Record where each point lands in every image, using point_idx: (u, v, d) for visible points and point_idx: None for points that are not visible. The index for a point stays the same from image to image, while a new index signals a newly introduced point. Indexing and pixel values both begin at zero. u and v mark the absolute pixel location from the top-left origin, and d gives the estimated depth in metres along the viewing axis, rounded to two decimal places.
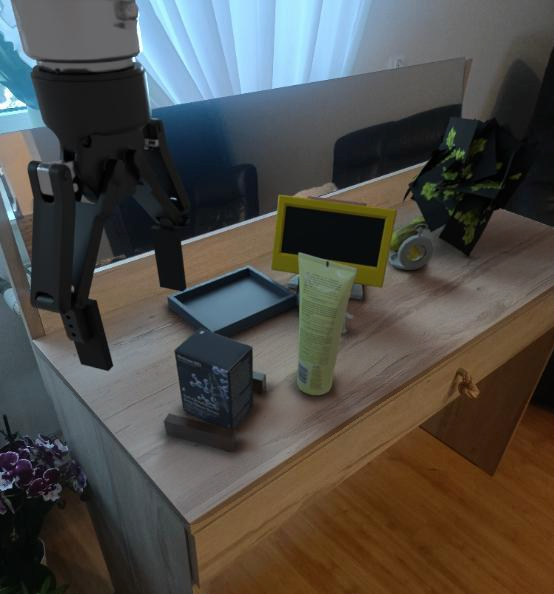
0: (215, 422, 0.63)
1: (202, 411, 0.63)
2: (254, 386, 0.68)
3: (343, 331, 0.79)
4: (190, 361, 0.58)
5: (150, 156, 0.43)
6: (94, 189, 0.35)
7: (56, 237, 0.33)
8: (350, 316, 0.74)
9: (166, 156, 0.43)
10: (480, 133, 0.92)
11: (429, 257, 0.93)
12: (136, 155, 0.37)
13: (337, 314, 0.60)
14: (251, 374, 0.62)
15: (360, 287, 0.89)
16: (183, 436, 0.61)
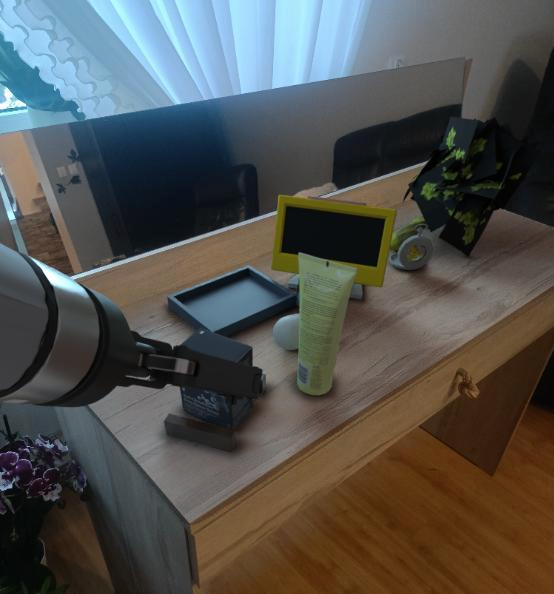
0: (215, 422, 0.63)
1: (202, 411, 0.63)
2: None
3: None
4: None
5: None
6: None
7: None
8: None
9: None
10: (480, 133, 0.92)
11: (429, 257, 0.93)
12: None
13: (337, 314, 0.60)
14: None
15: (360, 287, 0.89)
16: (183, 436, 0.61)
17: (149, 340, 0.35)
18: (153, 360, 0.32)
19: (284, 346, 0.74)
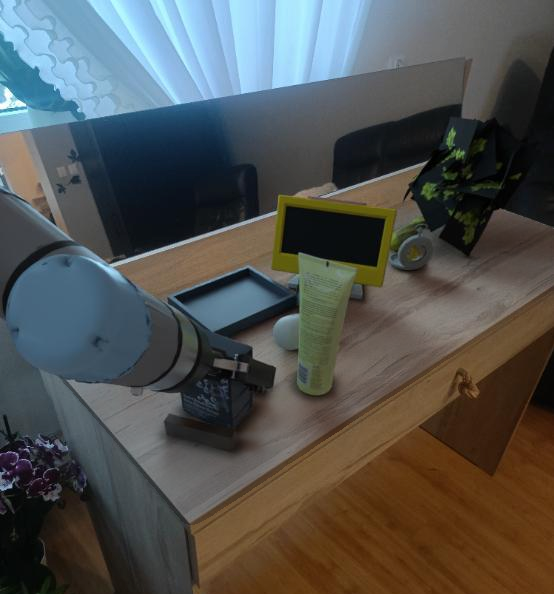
0: (215, 422, 0.63)
1: (202, 411, 0.63)
2: None
3: None
4: None
5: None
6: None
7: None
8: None
9: (245, 381, 0.51)
10: (480, 133, 0.92)
11: (429, 257, 0.93)
12: None
13: (337, 314, 0.60)
14: None
15: (360, 287, 0.89)
16: (183, 436, 0.61)
17: (215, 348, 0.51)
18: (224, 363, 0.48)
19: (284, 346, 0.74)
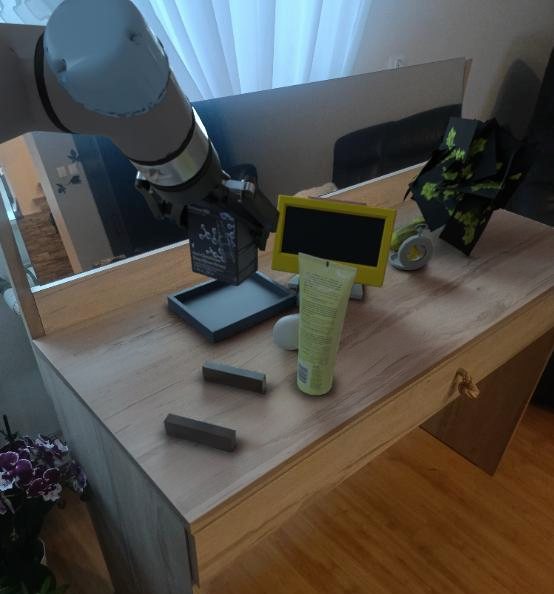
0: (222, 278, 0.67)
1: (210, 267, 0.67)
2: (254, 386, 0.68)
3: None
4: (200, 210, 0.63)
5: None
6: None
7: None
8: None
9: (250, 209, 0.55)
10: (480, 133, 0.92)
11: (429, 257, 0.93)
12: (199, 200, 0.54)
13: (337, 314, 0.60)
14: None
15: (360, 287, 0.89)
16: (183, 436, 0.61)
17: None
18: (232, 183, 0.53)
19: (284, 346, 0.74)
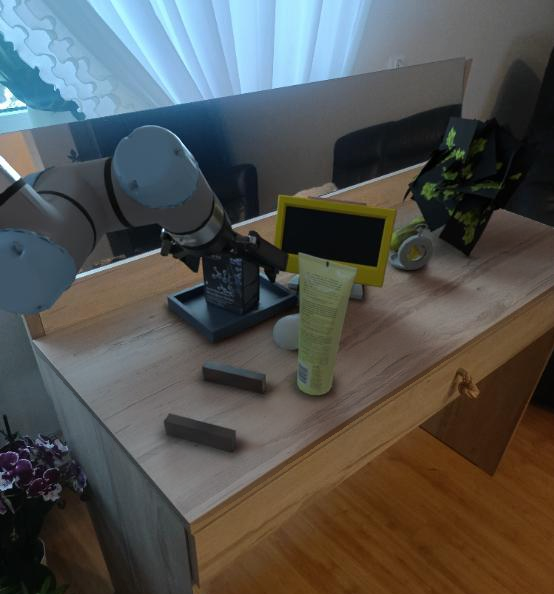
0: (231, 308, 0.82)
1: (221, 300, 0.82)
2: (254, 386, 0.68)
3: None
4: (213, 256, 0.78)
5: None
6: None
7: None
8: None
9: (257, 255, 0.69)
10: (480, 133, 0.92)
11: (429, 257, 0.93)
12: None
13: (337, 314, 0.60)
14: (258, 270, 0.81)
15: (360, 287, 0.89)
16: (183, 436, 0.61)
17: None
18: (239, 238, 0.67)
19: (284, 346, 0.74)
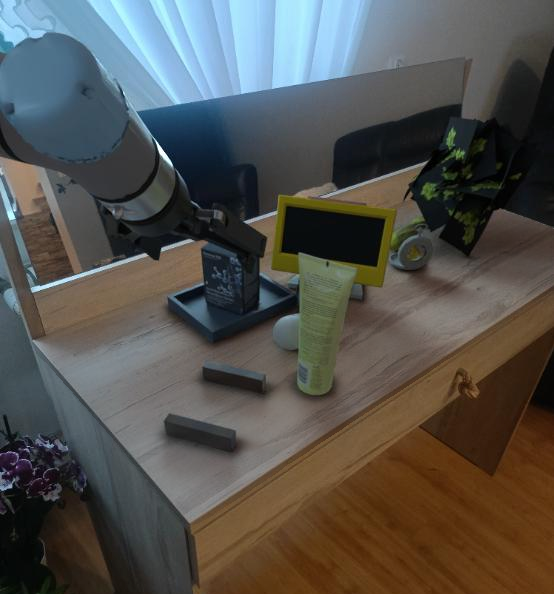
0: (231, 308, 0.82)
1: (221, 300, 0.82)
2: (254, 386, 0.68)
3: None
4: (213, 256, 0.78)
5: None
6: None
7: None
8: None
9: (225, 236, 0.54)
10: (480, 133, 0.92)
11: (429, 257, 0.93)
12: None
13: (337, 314, 0.60)
14: (258, 270, 0.81)
15: (360, 287, 0.89)
16: (183, 436, 0.61)
17: None
18: (200, 212, 0.52)
19: (284, 346, 0.74)
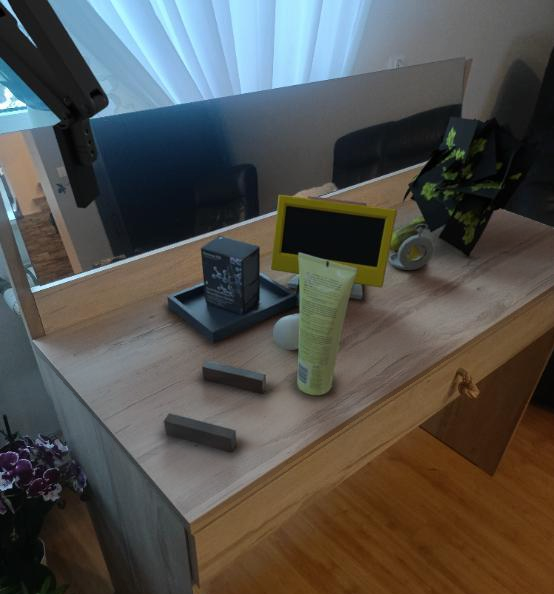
0: (231, 308, 0.82)
1: (221, 300, 0.82)
2: (254, 386, 0.68)
3: None
4: (213, 256, 0.78)
5: None
6: None
7: None
8: None
9: (24, 15, 0.32)
10: (480, 133, 0.92)
11: (429, 257, 0.93)
12: None
13: (337, 314, 0.60)
14: (258, 270, 0.81)
15: (360, 287, 0.89)
16: (183, 436, 0.61)
17: None
18: None
19: (284, 346, 0.74)
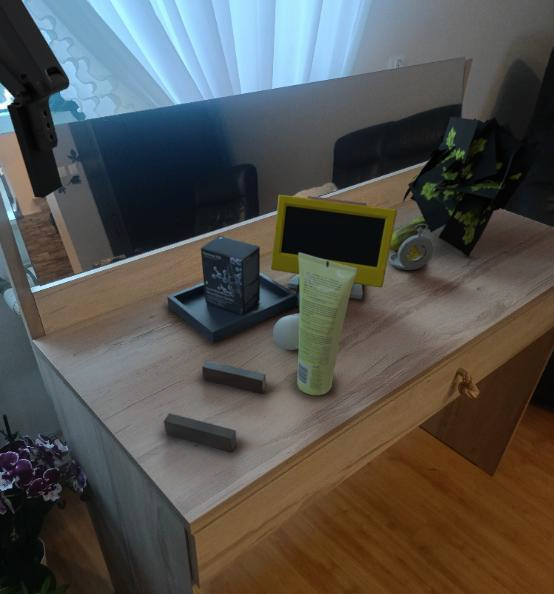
0: (231, 308, 0.82)
1: (221, 300, 0.82)
2: (254, 386, 0.68)
3: None
4: (213, 256, 0.78)
5: None
6: None
7: None
8: None
9: None
10: (480, 133, 0.92)
11: (429, 257, 0.93)
12: None
13: (337, 314, 0.60)
14: (258, 270, 0.81)
15: (360, 287, 0.89)
16: (183, 436, 0.61)
17: None
18: None
19: (284, 346, 0.74)
